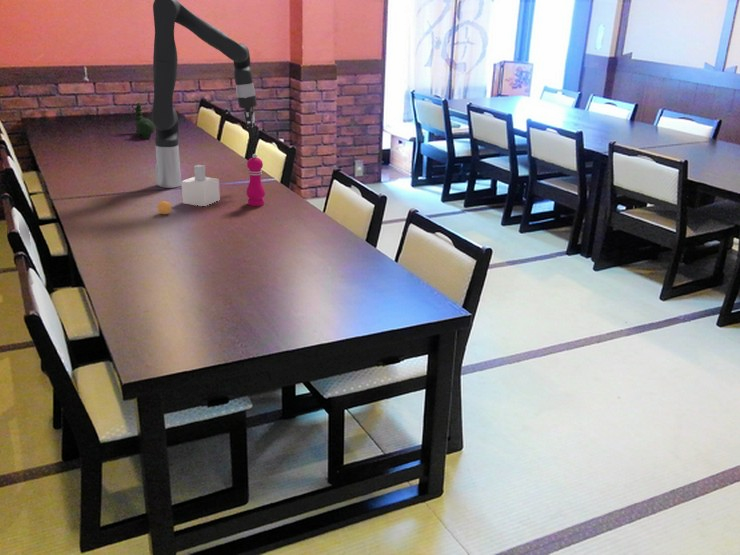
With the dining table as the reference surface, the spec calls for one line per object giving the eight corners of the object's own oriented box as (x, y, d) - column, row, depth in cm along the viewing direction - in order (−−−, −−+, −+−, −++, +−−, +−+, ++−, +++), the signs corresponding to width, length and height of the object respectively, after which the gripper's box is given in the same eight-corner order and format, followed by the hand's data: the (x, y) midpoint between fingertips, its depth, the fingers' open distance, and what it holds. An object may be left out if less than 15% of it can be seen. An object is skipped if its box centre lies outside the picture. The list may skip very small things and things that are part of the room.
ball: (155, 214, 252) (153, 201, 250) (163, 211, 256) (162, 198, 254) (166, 216, 250) (165, 203, 248) (174, 213, 254) (173, 200, 252)
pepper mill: (268, 203, 271) (267, 153, 264) (258, 207, 265) (257, 156, 257) (253, 200, 274) (252, 151, 266) (243, 204, 268) (241, 154, 260)
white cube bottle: (182, 203, 267) (180, 166, 261) (198, 197, 276) (196, 161, 270) (204, 206, 263) (202, 170, 258) (219, 200, 272) (218, 164, 267)
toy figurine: (132, 136, 392) (140, 140, 371) (128, 102, 386) (136, 104, 365) (148, 135, 396) (158, 139, 375) (145, 102, 390) (154, 104, 369)
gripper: (238, 94, 284) (245, 132, 290) (235, 98, 271) (242, 139, 277) (256, 92, 284) (262, 131, 291) (254, 96, 271) (260, 137, 277)
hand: (252, 134), depth 284 cm, fingers open, 8 cm apart
